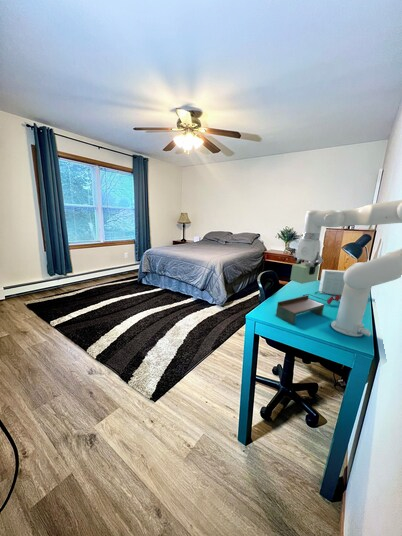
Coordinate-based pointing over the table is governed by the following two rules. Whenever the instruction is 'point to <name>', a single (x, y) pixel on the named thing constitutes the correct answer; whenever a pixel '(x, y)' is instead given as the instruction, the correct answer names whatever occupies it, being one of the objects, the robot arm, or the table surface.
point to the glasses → (328, 298)
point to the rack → (297, 308)
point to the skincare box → (332, 282)
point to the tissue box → (303, 273)
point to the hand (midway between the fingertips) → (304, 272)
